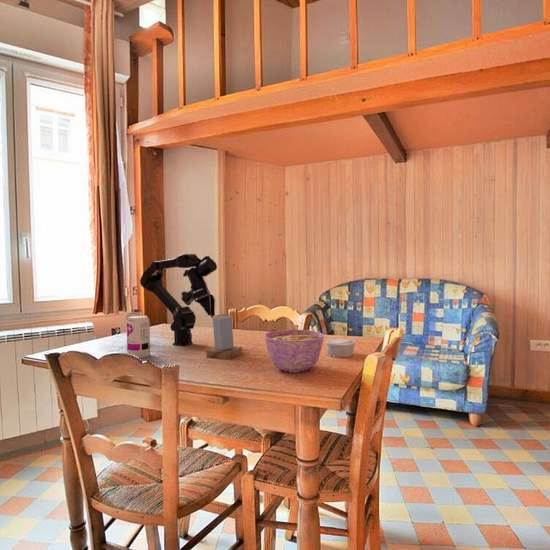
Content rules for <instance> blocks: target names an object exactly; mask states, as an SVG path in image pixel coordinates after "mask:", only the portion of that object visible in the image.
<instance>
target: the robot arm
mask: <svg viewBox="0 0 550 550" xmlns="http://www.w3.org/2000/svg"><path fill="white" fill-rule="evenodd" d="M174 268H182V269H185V270H184V272H183V275H182V276H183V277H188V279H189V283H190V289H191V290H188V291H185V290H184V291H183V292H181V297H180V298H181V299H180V300H182V301H183V303H184V304H185V306H181V304H180V303H179V301H177V300H176V298H175V297H173V296H172V294H171V293H170V292H169V291H168V289H166V288H165V287H164V285H163V280H162V278H163V276H164V270H168V269H174ZM188 268H189V269H188ZM217 268H218V266H217V263H216V261H215V260H213V258H211V257H210V255H205V256H204V257H203V258H202V259H201V258H199V257H198V256H197V254H196V253H183V254H180V255H178V256H176V258H175V257H174V258H169V259H165V260H159V261H158V260H156V261H155V260H154V261H152V262H151V264H150V265H149V267H148V268H146V269H145V270H144V272H143V274H142V275H141V277H140V279H139V284H140V286H141V287H142V288H144V290H146V291H149V292H150V293H152V294H154V295H155V296H156V297H157V298H158V300H159V301H161V302H160V303H162V304H163V306H165V308H167V310H168V311H169V312H170V313H171V314H172V320H173V321H172V323H171V324H170V330H171V331H172V332H174V333H173V334H174V335H173V336H174V341H173V343H172V345H173V346H185V347H186V346H188V345H191V344H193V343H194V341H193V335H192V332H191V331H192V330H191V329H194V328H195V324H196V320H197V319H196V314H195V311H193V310H192V309H191V308H190V305H191V304H192V303H193V302H195V303H197V304H199V305H200V306H201V307H202V308H203V310H204V312H205V313H206V314H207V316H210V318H212V316H215V315H216V313H215V312H216V299H215V296H214V295H212V294H211V291H210V290H209V288H208V284H207V282H206V281H205V280H206V279H205V278H204V277H208V276H210V275H211V274H212V273H214V272H215V271H216V270H217ZM156 271H157V272H156ZM155 272H156V273H155Z"/></svg>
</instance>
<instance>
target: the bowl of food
mask: <svg viewBox="0 0 550 550" xmlns="http://www.w3.org/2000/svg"><path fill="white" fill-rule="evenodd" d="M263 337H264V341H265V345H266V350H267V354H268V357H269V359H270V361H271V363H272V364H273V366H276V367H277V368H279V369H281V370H282V371H283V370H284V371H283V372H286V371H289V372H288V373H300V372H299V371H303V372H305V371H307V369H310V368H312V367H313V366H315V365H316V363H317V362H318V361H319V359H320V356H321V351H322V347H323V343H324V338H325V334H324V333H322V332H319V331H315V330H310V329H280V330H279V329H278V330H273V331H269V332H266V333H265V334H264V335H263ZM304 370H305V371H304Z"/></svg>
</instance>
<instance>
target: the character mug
mask: <svg viewBox="0 0 550 550" xmlns="http://www.w3.org/2000/svg"><path fill="white" fill-rule="evenodd" d="M139 315H143V312H138V311H136V312H135V311H134V312H132V311H131V312H125V313H124V324H125V326H124V328H125V329H127V320H128V317H130V316H139Z"/></svg>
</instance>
